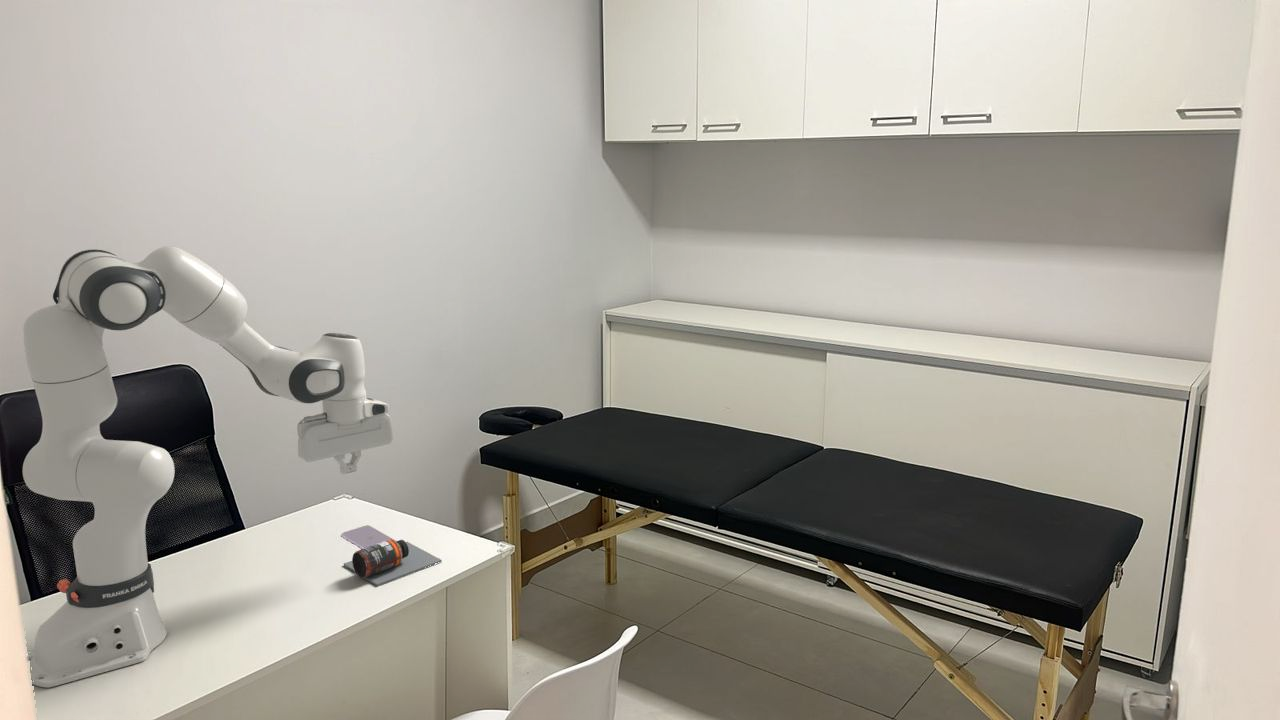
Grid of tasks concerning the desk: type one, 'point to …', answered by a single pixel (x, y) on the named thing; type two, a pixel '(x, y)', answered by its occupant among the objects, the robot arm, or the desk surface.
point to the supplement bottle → (379, 557)
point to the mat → (401, 566)
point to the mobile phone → (365, 536)
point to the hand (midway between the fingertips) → (348, 472)
